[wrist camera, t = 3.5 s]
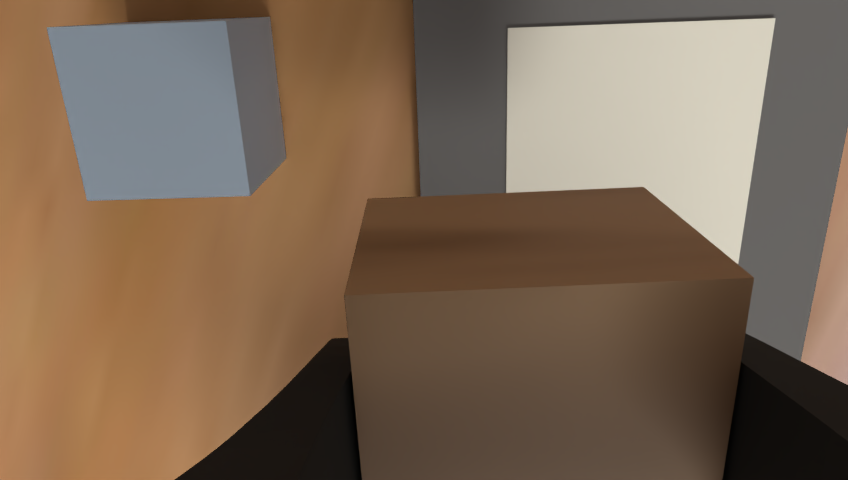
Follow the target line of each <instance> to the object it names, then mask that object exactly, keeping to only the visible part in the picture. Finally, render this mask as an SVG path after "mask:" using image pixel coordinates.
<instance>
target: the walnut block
mask: <svg viewBox="0 0 848 480" xmlns="http://www.w3.org/2000/svg"><path fill="white" fill-rule="evenodd" d="M753 282H754V277H753V276H751V275H750V274H749V273H748V272H747V271H745V270H744V269H743V268H742V267H741V266H739V265H738V264H737V263H736V262H734V261H733V260H732V259H731V258H730V257H728V256H727V255H726V254H725V253H723V252H722V251H721V250H720V249H719V248H717V247H716V246H715V245H714V244H713V243H711V242H710V241H709V240H708V239H706V238H705V237H704V236H703V235H702V234H700V233H699V232H698V231H697V230H696V229H694V228H693V227H692V226H691V225H689V224H688V223H687V222H686V221H685V220H683V219H682V218H681V217H680V216H678V215H677V214H676V213H675V212H674V211H672V210H671V209H670V208H669V207H668V206H666V205H665V204H664V203H663V202H661V201H660V200H659V199H658V198H657V197H655V196H654V195H653V194H652V193H651V192H649V191H648V190H647V189H646V188H644V187H628V188H605V189H583V190H560V191H537V192H514V193H491V194H468V195H445V196H423V197H400V198H377V199H368V200H367V204H366V208H365V213H364V217H363V221H362V225H361V229H360V233H359V237H358V241H357V245H356V249H355V253H354V257H353V262H352V266H351V270H350V274H349V278H348V282H347V286H346V290H345V294H344V298H345V309H346V319H347V329H348V340H349V350H350V360H351V371H352V381H353V391H354V402H355V412H356V422H357V433H358V443H359V453H360V464H361V474H362V480H722V478H723V472H724V466H725V459H726V453H727V447H728V440H729V434H730V428H731V421H732V415H733V409H734V402H735V396H736V390H737V384H738V377H739V371H740V365H741V358H742V352H743V346H744V339H745V333H746V327H747V320H748V314H749V308H750V301H751V295H752V289H753Z"/></svg>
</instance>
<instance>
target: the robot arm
mask: <svg viewBox="0 0 848 480" xmlns="http://www.w3.org/2000/svg"><path fill="white" fill-rule="evenodd" d="M175 480H362V474H361V464H360V453H359V443H358V433H357V422H356V412H355V402H354V391H353V381H352V371H351V360H350V350H349V340H348V338H335V339H331V340H330V341H329V342H328V343H327V344H326V345H325V346H324V347H323V348H322V349H321V350H320V351H319V352H318V353H317V354H316V355H315V356H314V357H313V358H312V360H311V361H310V362H309V363H308V364H307V365H306V366H305V367H304V368H303V369H302V370H301V371H300V372H299V373H298V374H297V375H296V376H295V377H294V378H293V379H292V380H291V382H290V383H289V384H288V385H287V386H286V387H284V388H283V389H282V390H281V391H280V392H279V393H278V394H277V395H276V396H275V397H274V398H273V399H272V400H271V401H270V402H269V403H268V404H267V405H266V406H265V407H264V408H263V409H262V410H261V411H259V412H258V413H257V414H256V415H255V416H254V417H253V418H252V419H251V420H249V421H248V422H247V423H246V424H245V425H244V426H243V427H242V428H240V429H239V430H238V431H237V432H236V433H235V434H234V435H233V436H231V437H230V438H229V439H228V440H227V441H225V442H224V443H223V444H222V445H221V446H219V447H218V448H217V449H216V450H214V451H213V452H212V453H210V454H209V455H208V456H207V457H205V458H204V459H203V460H201V461H200V462H199V463H197V464H196V465H194V466H193V467H192V468H190V469H189V470H188V471H186V472H185V473H183V474H182V475H181V476H179V477H178V478H177V479H175ZM722 480H848V385H846V384H844V383H842V382H840V381H838V380H836V379H834V378H832V377H830V376H828V375H826V374H824V373H823V372H821V371H819V370H817V369H815V368H813V367H811V366H809V365H807V364H805V363H803V362H801V361H799V360H797V359H795V358H793V357H791V356H790V355H788V354H786V353H784V352H782V351H780V350H778V349H776V348H774V347H772V346H770V345H768V344H766V343H764V342H762V341H760V340H758V339H756V338H754V337H752V336H750V335H748V334H746V333H745V339H744V346H743V352H742V358H741V365H740V371H739V377H738V384H737V390H736V396H735V402H734V409H733V415H732V421H731V428H730V434H729V440H728V447H727V453H726V459H725V466H724V472H723V478H722Z"/></svg>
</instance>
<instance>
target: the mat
mask: <svg viewBox="0 0 848 480" xmlns="http://www.w3.org/2000/svg"><path fill="white" fill-rule="evenodd" d="M413 15H414V40H415V65H416V91H417V116H418V141H419V167H420V192H421V197H423V196H445V195H468V194H491V193H514V192H537V191H560V190H583V189H605V188H628V187H644V188H646V189H647V190H648V191H649V192H651V193H652V194H653V195H654V196H655V197H657V198H658V199H659V200H660V201H661V202H663V203H664V204H665V205H666V206H668V207H669V208H670V209H671V210H672V211H674V212H675V213H676V214H677V215H678V216H680V217H681V218H682V219H683V220H685V221H686V222H687V223H688V224H689V225H691V226H692V227H693V228H694V229H696V230H697V231H698V232H699V233H700V234H702V235H703V236H704V237H705V238H706V239H708V240H709V241H710V242H711V243H713V244H714V245H715V246H716V247H717V248H719V249H720V250H721V251H722V252H723V253H725V254H726V255H727V256H728V257H730V258H731V259H732V260H733V261H734V262H736V263H737V264H738V265H739V266H741V267H742V268H743V269H744V270H745V271H747V272H748V273H749V274H750V275H751V276H753V277H754V282H753V289H752V295H751V301H750V308H749V314H748V320H747V327H746V334H748V335H750V336H752V337H754V338H756V339H758V340H760V341H762V342H764V343H766V344H768V345H770V346H772V347H774V348H776V349H778V350H780V351H782V352H784V353H786V354H788V355H790V356H791V357H793V358H795V359H797V360H799V361H801V356H802V351H803V346H804V341H805V336H806V331H807V326H808V321H809V316H810V311H811V306H812V301H813V296H814V291H815V286H816V281H817V276H818V271H819V267H820V262H821V257H822V252H823V247H824V242H825V237H826V232H827V227H828V222H829V217H830V212H831V207H832V202H833V197H834V192H835V187H836V182H837V177H838V172H839V167H840V162H841V157H842V152H843V147H844V142H845V137H846V133H847V128H848V0H413Z"/></svg>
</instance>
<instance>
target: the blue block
mask: <svg viewBox="0 0 848 480" xmlns="http://www.w3.org/2000/svg"><path fill="white" fill-rule="evenodd" d="M47 31H48V35H49V40H50V44H51V48H52V52H53V57H54V61H55V65H56V70H57V74H58V78H59V82H60V87H61V91H62V95H63V99H64V104H65V108H66V112H67V116H68V121H69V125H70V129H71V134H72V138H73V142H74V146H75V151H76V155H77V159H78V163H79V168H80V172H81V176H82V180H83V185H84V189H85V193H86V198H87V201H97V200H130V199H164V198H198V197H231V196H251V195H252V194H253V192H254V191H255V190H256V189H257V188H258V187H259V186H260V185H261V184H262V183H263V182H264V181H265V180H266V179H267V178H268V177H269V176H270V175H271V174H272V173H273V172H274V171H275V170H276V169H277V168H278V167H279V165H280V164H281V163H282V162H283V161H284V160H285V159H286V151H285V142H284V133H283V125H282V116H281V107H280V99H279V90H278V81H277V73H276V64H275V56H274V47H273V38H272V30H271V21H270V17H252V18H226V19H200V20H174V21H148V22H124V23H109V24H93V25H78V26H62V27H47Z"/></svg>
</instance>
